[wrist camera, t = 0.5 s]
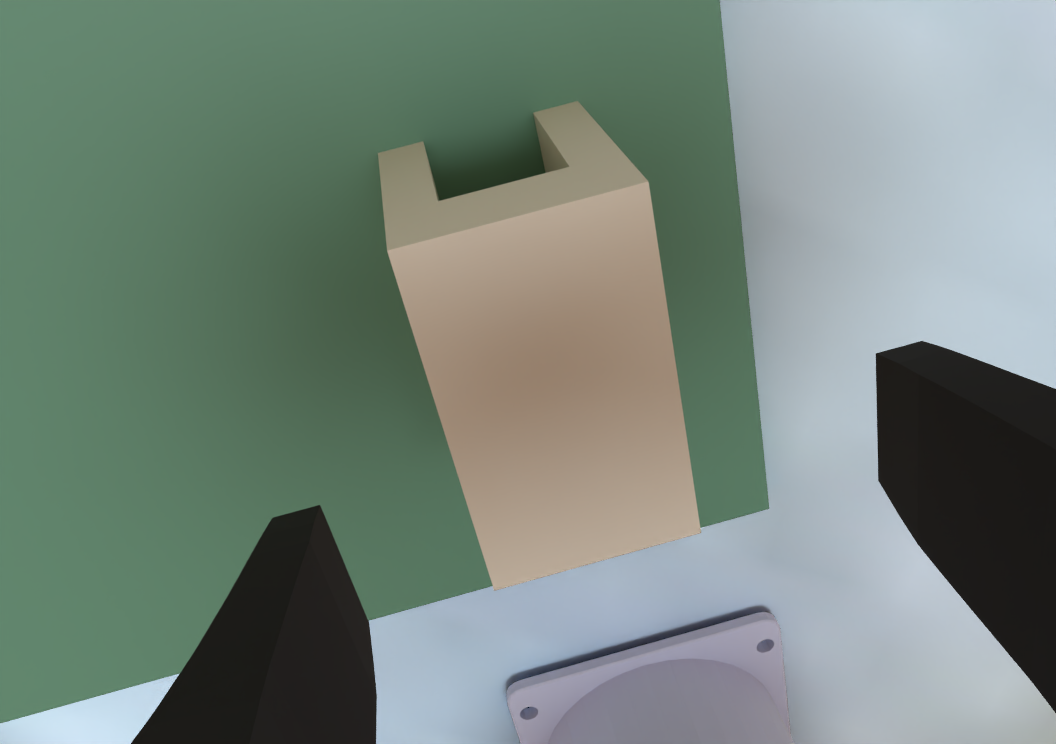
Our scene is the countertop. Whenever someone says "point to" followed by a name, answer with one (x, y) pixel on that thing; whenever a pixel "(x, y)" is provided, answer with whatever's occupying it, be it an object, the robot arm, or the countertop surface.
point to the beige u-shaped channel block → (547, 350)
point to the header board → (297, 293)
